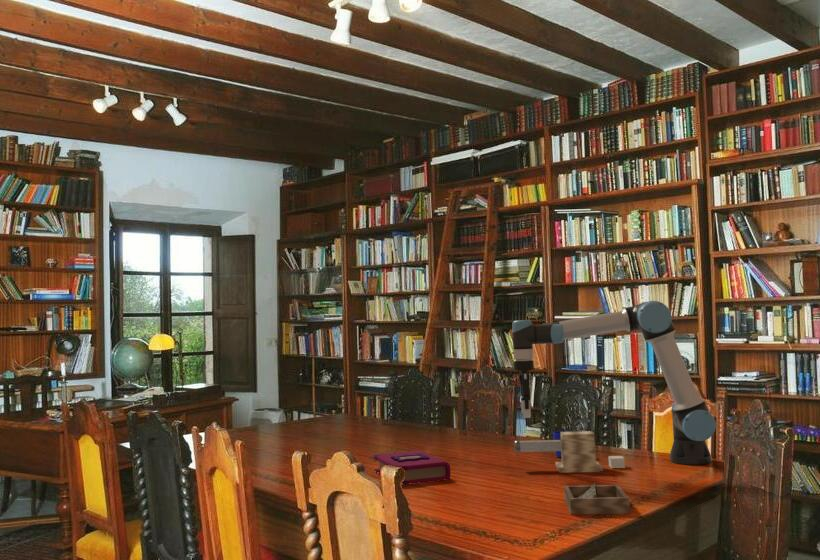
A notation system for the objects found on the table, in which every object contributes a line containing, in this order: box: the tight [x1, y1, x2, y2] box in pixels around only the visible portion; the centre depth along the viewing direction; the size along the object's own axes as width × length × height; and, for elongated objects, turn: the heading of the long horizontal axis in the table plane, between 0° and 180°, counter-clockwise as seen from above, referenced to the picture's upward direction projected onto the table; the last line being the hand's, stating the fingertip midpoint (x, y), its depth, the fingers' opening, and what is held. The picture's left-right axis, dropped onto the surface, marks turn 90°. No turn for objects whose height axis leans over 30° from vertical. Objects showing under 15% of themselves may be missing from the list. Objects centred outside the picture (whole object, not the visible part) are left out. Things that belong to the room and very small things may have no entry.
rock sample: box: [578, 483, 599, 498], centre depth 229 cm, size 10×8×9 cm
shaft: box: [513, 439, 563, 453], centre depth 284 cm, size 28×4×4 cm, turn 84°
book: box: [373, 450, 451, 486], centre depth 282 cm, size 21×28×8 cm
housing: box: [555, 430, 604, 474], centre depth 283 cm, size 16×14×13 cm
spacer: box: [608, 455, 626, 469], centre depth 282 cm, size 5×5×4 cm
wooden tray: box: [563, 484, 631, 515], centre depth 226 cm, size 17×17×4 cm
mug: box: [552, 430, 572, 459], centre depth 307 cm, size 8×12×10 cm
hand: (526, 415), depth 286 cm, fingers open, 13 cm apart
